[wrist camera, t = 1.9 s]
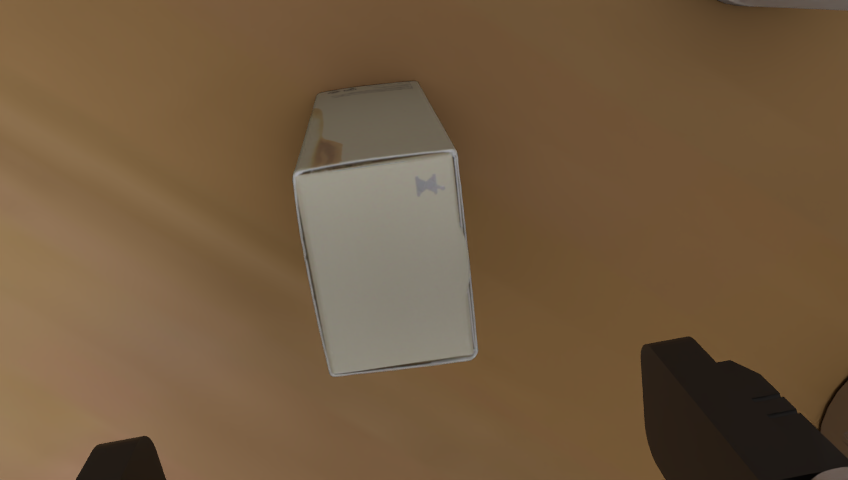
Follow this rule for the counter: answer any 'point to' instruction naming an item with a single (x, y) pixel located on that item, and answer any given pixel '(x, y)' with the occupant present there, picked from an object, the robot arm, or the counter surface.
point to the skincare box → (384, 232)
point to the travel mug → (793, 3)
